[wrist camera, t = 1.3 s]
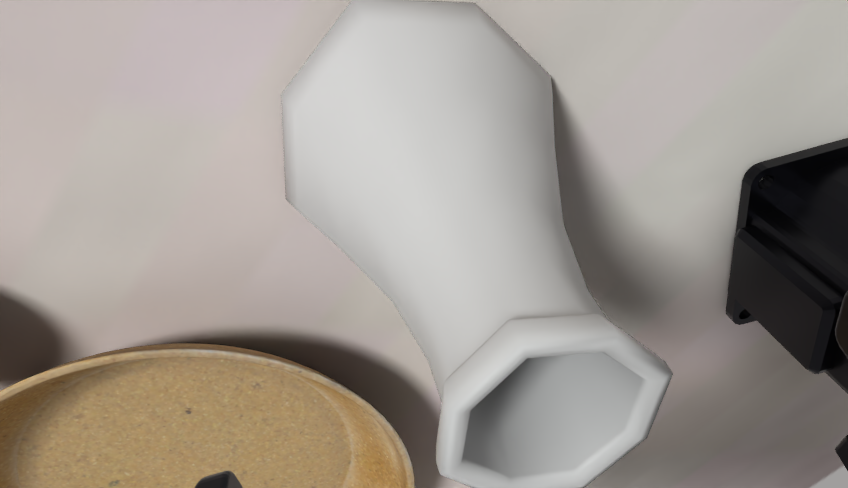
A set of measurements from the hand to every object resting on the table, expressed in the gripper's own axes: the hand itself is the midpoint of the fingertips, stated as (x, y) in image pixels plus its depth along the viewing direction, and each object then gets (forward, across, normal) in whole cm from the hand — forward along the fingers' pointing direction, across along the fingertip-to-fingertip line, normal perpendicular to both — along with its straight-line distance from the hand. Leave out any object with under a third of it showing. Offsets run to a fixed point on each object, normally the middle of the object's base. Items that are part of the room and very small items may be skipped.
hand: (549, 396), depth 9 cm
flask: (+10, 0, 0) cm, 10 cm away
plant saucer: (+10, +10, +10) cm, 17 cm away
